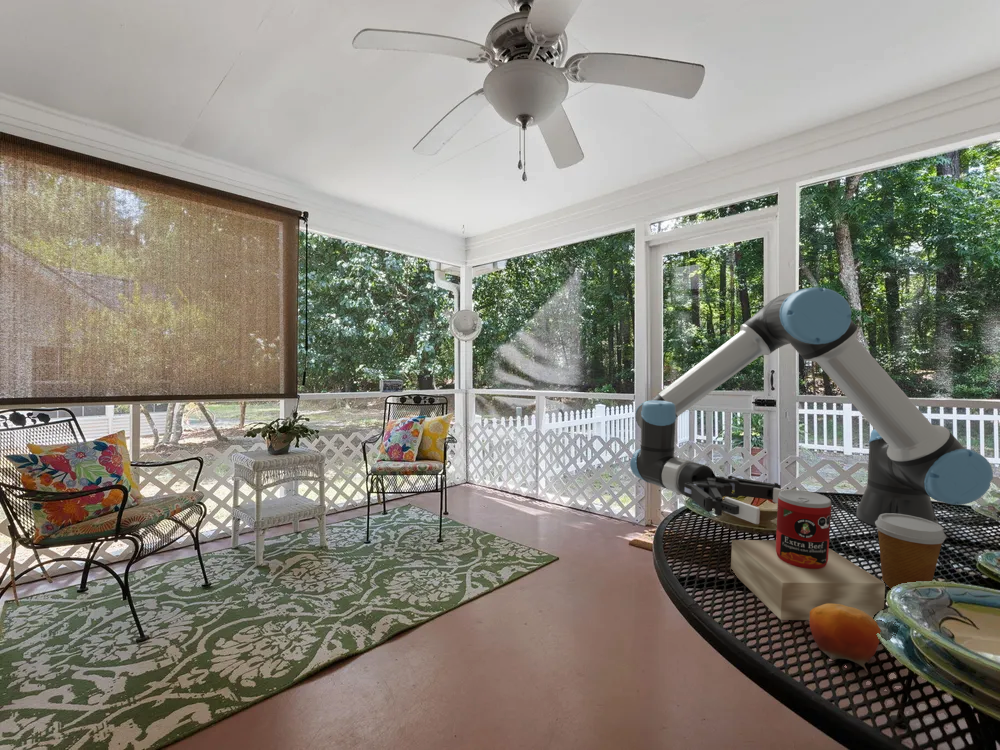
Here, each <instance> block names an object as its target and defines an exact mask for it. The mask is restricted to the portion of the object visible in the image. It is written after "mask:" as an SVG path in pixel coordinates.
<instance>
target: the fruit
mask: <svg viewBox="0 0 1000 750" xmlns="http://www.w3.org/2000/svg"><path fill="white" fill-rule="evenodd" d="M809 628H810V632H811V635H812V637H813V640H814V642H815V644H816V646H817V647H818V650H820V651H821V652H822V653H824V654H825V655H827V657H828V658H830V660H831V662H834V661H836V660H839V659H840V660H848V661H851V662H853V663H855V664H857V665H859V666H861V667H862V668H863V669H864V670H865V672H866V673H867V674H868V669H867V667H866V665H865V664H867V663H868V662H870V660H871V658H873V657H874V656H875V655H876V653H877V650H878V647H879V644H880V642H881V640H880V641H879V639H878V637H877V635H876V634H877V633H879V634H880V632H881V633H882V630H881V628H880V626H879V625H878V623H877V621H875V620H874V619H873V618H872V617H871V616H869V615H868V614H866V613H865V612H864V611H861V610H859V609H856V608H853V607H847V606H844V605H841V604H832V603H830V604H829V603H828V604H823V605H820V606H818V607H815V608H813V609H812V610H811V611H810V620H809Z"/></svg>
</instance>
